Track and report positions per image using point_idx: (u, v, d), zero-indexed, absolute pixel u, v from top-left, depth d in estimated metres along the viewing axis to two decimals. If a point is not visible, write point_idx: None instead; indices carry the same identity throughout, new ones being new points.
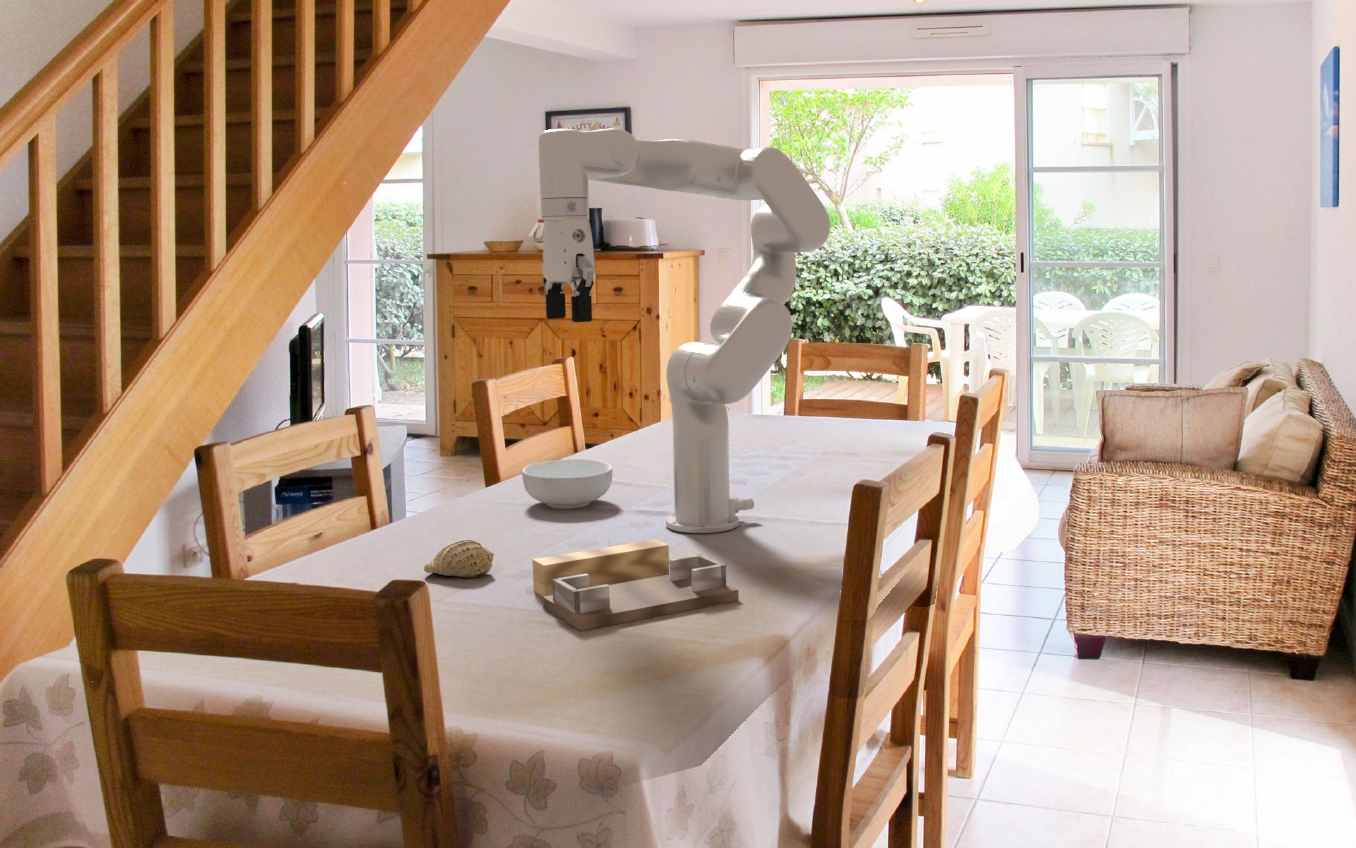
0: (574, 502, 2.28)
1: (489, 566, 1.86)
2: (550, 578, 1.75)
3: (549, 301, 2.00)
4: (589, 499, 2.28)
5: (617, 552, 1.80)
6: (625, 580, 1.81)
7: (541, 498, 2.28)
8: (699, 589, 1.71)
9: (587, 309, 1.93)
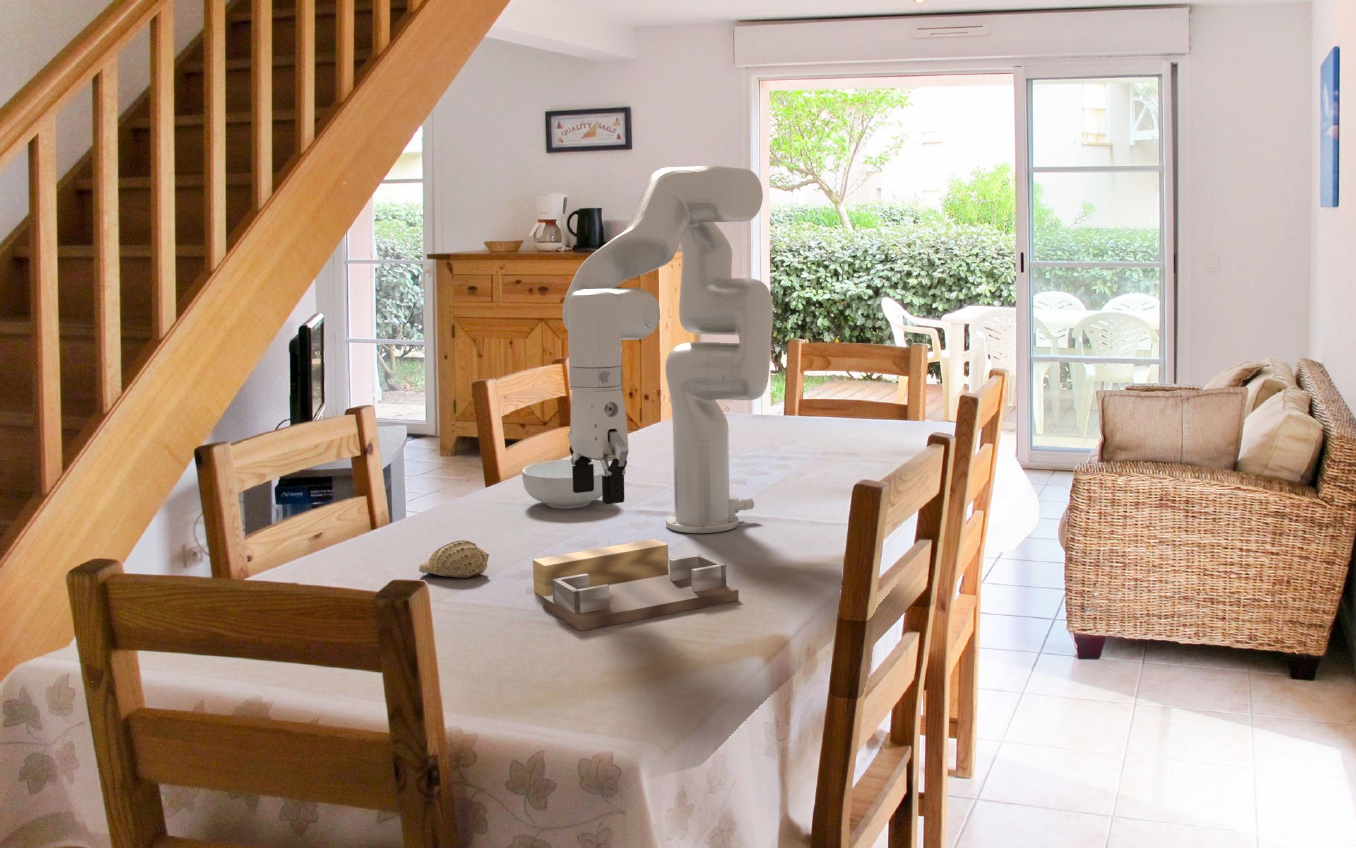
0: (574, 502, 2.28)
1: (484, 566, 1.86)
2: (551, 578, 1.75)
3: (576, 474, 1.82)
4: (589, 499, 2.28)
5: (617, 552, 1.80)
6: (625, 580, 1.81)
7: (541, 498, 2.28)
8: (699, 589, 1.71)
9: (619, 490, 1.74)
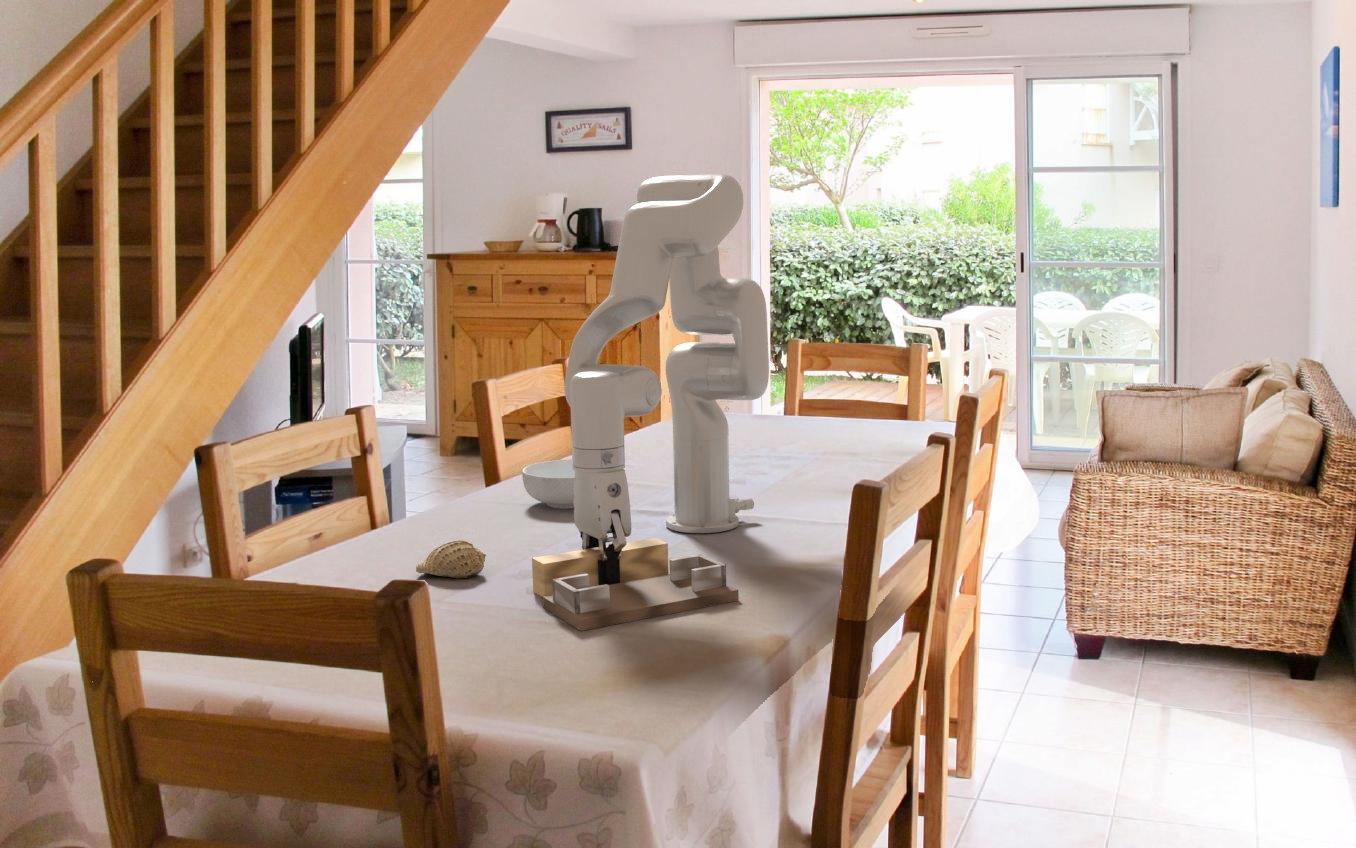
0: None
1: (480, 567, 1.86)
2: (549, 576, 1.75)
3: None
4: None
5: None
6: (624, 578, 1.81)
7: (541, 498, 2.28)
8: (699, 589, 1.71)
9: (615, 573, 1.78)
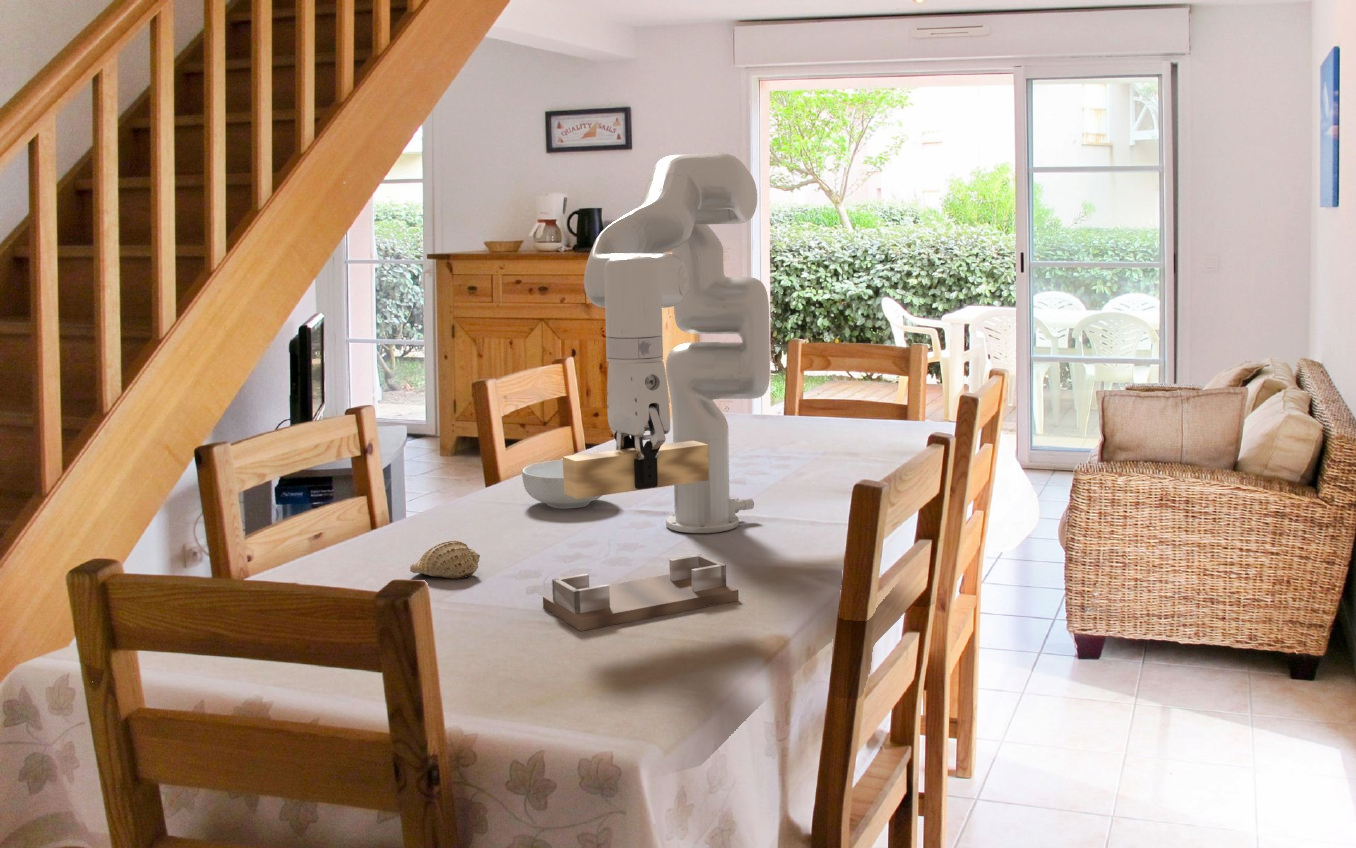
0: (574, 502, 2.28)
1: (474, 567, 1.86)
2: (582, 475, 1.62)
3: None
4: (589, 499, 2.28)
5: None
6: (662, 481, 1.68)
7: (541, 498, 2.28)
8: (699, 589, 1.71)
9: (653, 474, 1.66)
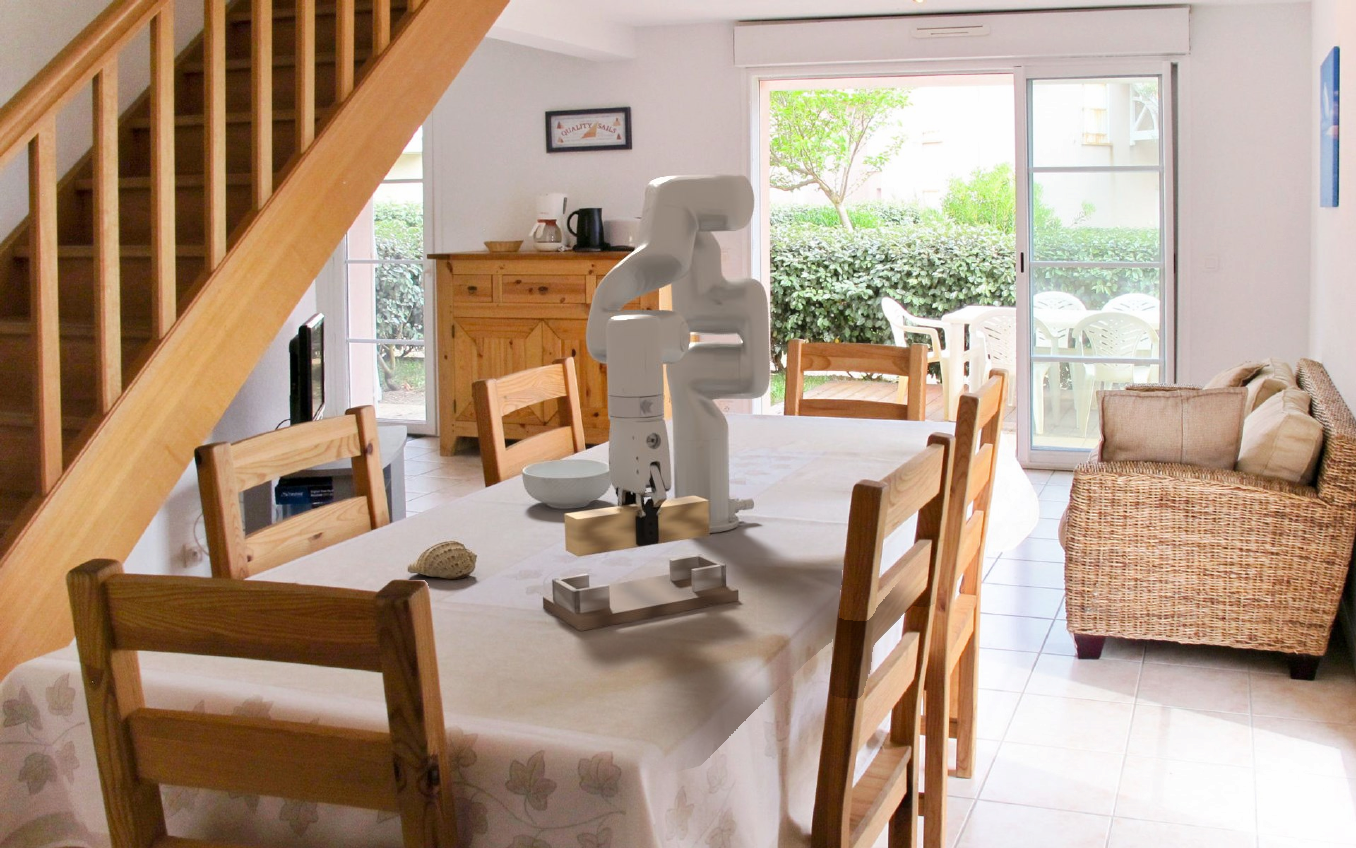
0: (574, 502, 2.28)
1: (471, 568, 1.85)
2: (583, 533, 1.63)
3: None
4: (589, 499, 2.28)
5: None
6: (663, 537, 1.69)
7: (541, 498, 2.28)
8: (699, 589, 1.71)
9: (654, 531, 1.67)
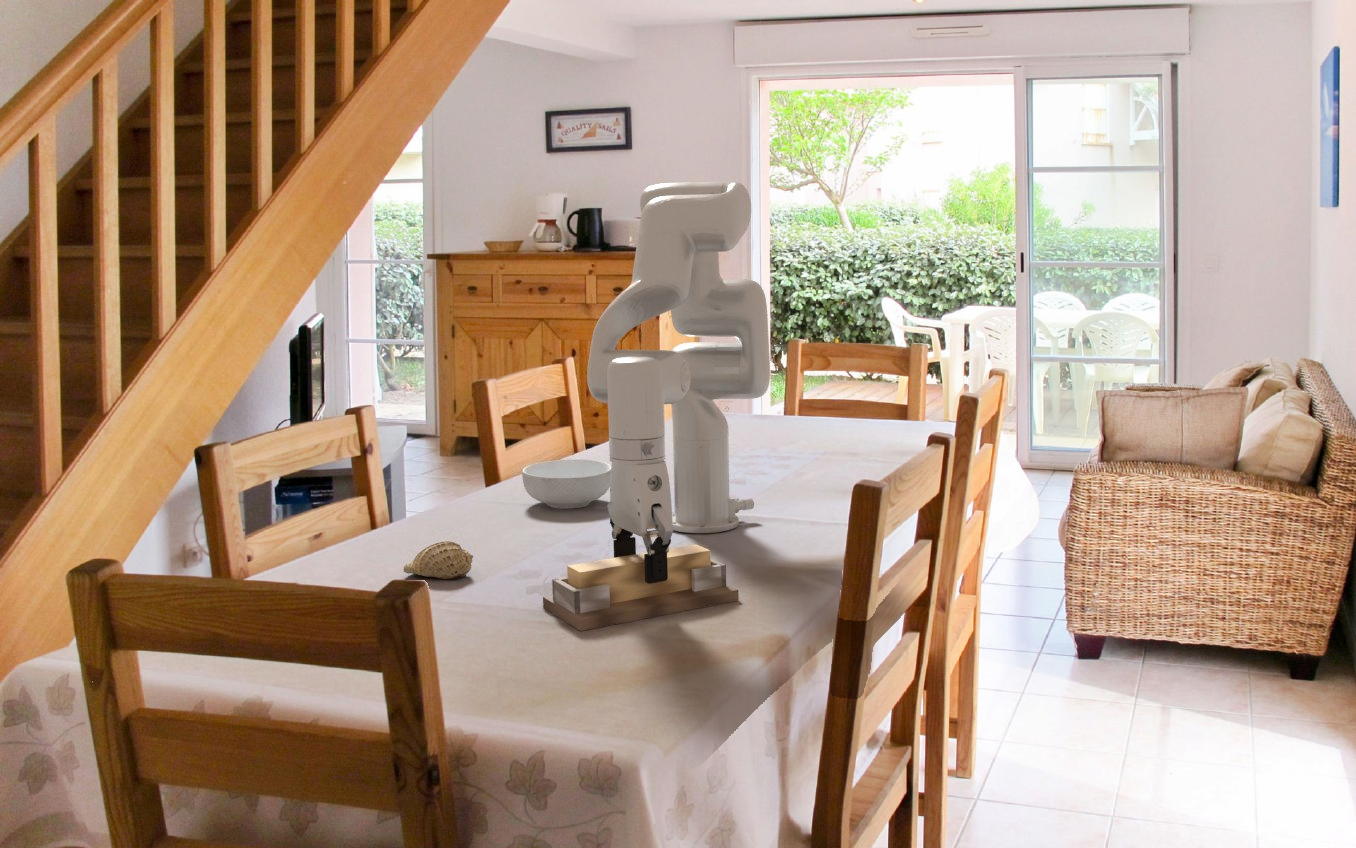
0: (574, 502, 2.28)
1: (467, 568, 1.85)
2: (586, 585, 1.64)
3: (618, 549, 1.73)
4: (589, 499, 2.28)
5: None
6: (665, 588, 1.70)
7: (541, 498, 2.28)
8: (699, 589, 1.71)
9: (663, 569, 1.66)
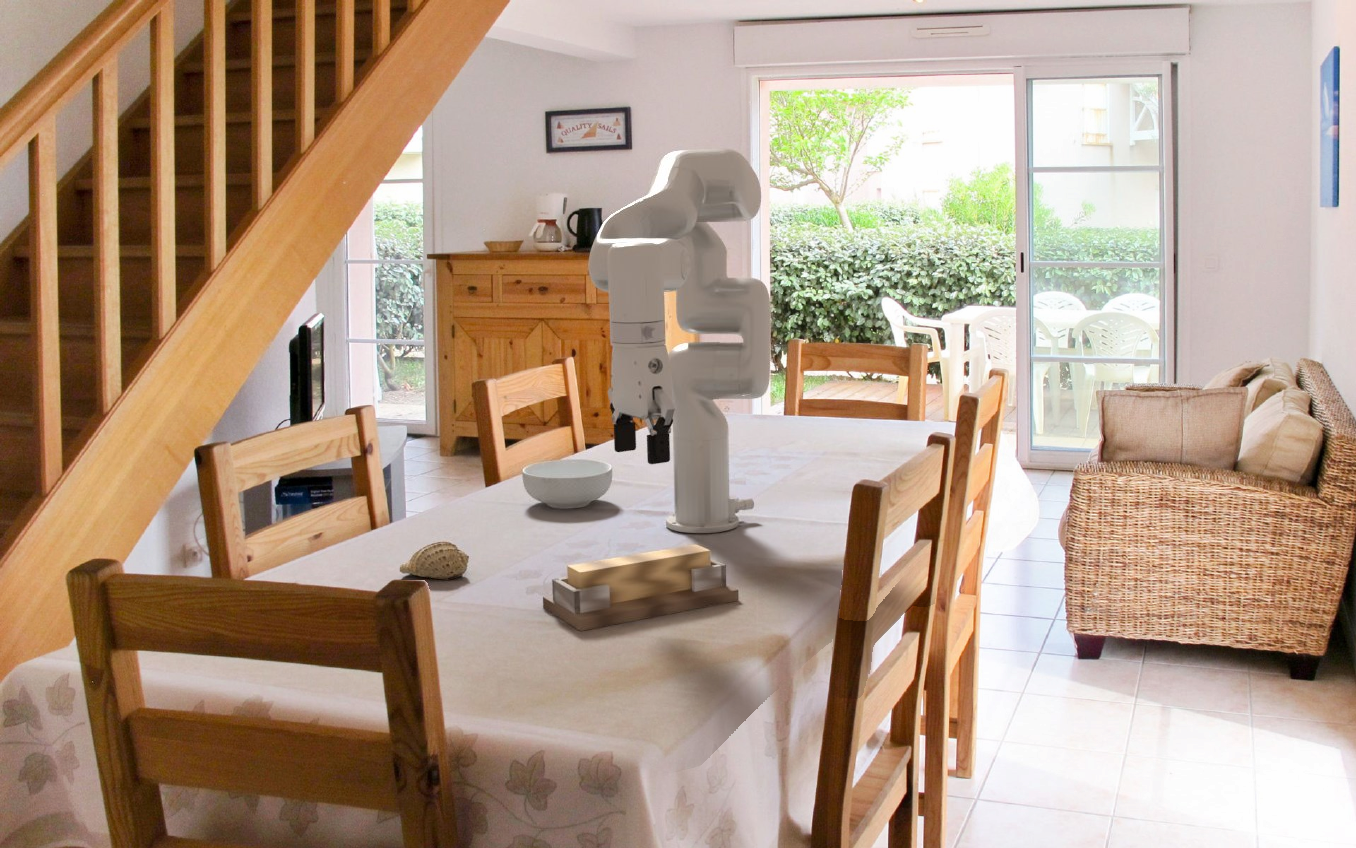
0: (574, 502, 2.28)
1: (463, 568, 1.85)
2: (586, 585, 1.64)
3: (618, 433, 1.76)
4: (589, 499, 2.28)
5: (657, 558, 1.70)
6: (665, 588, 1.70)
7: (541, 498, 2.28)
8: (699, 589, 1.71)
9: (665, 449, 1.68)
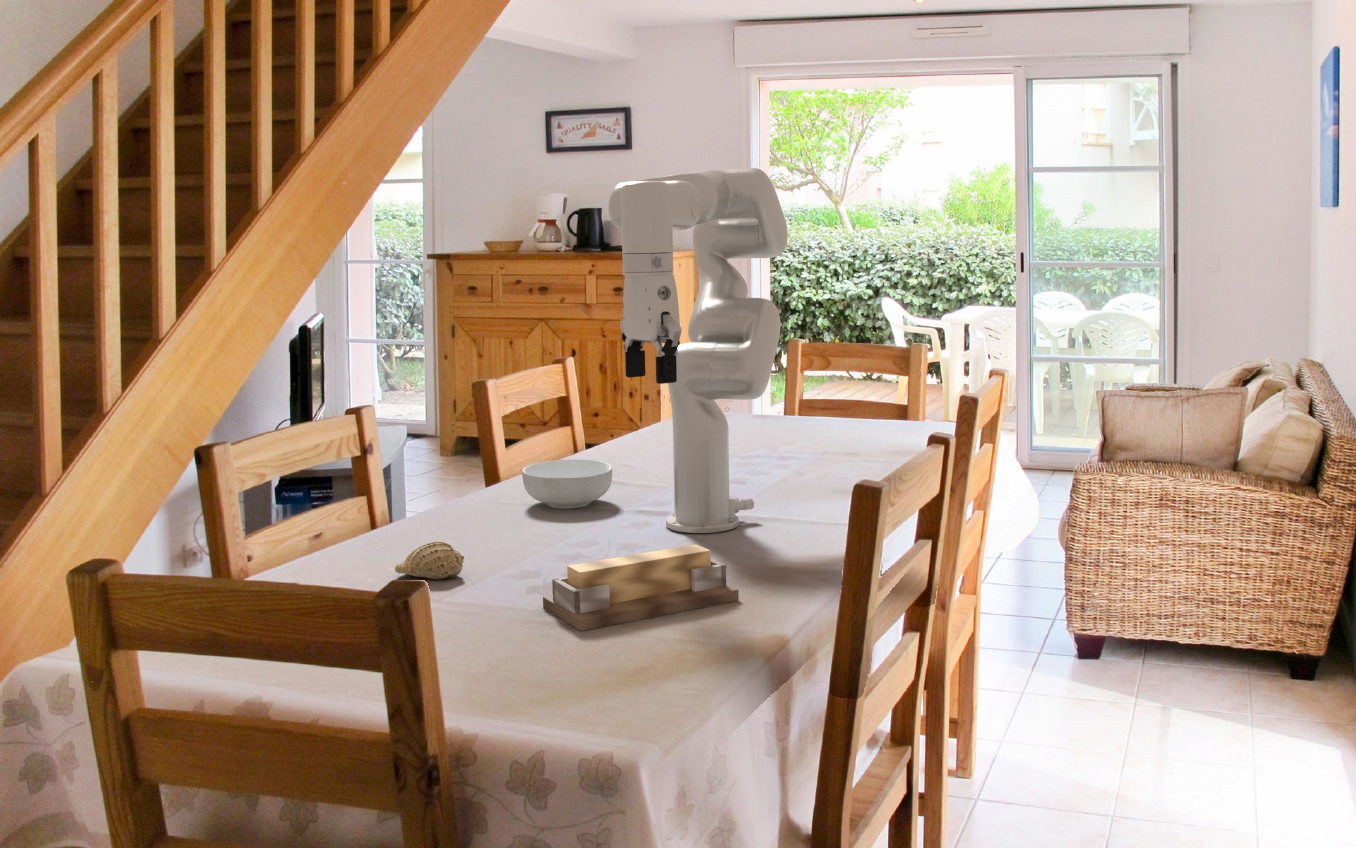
0: (574, 502, 2.28)
1: (458, 569, 1.85)
2: (586, 585, 1.64)
3: (629, 359, 1.91)
4: (589, 499, 2.28)
5: (657, 558, 1.70)
6: (665, 588, 1.70)
7: (541, 498, 2.28)
8: (699, 589, 1.71)
9: (672, 370, 1.83)
